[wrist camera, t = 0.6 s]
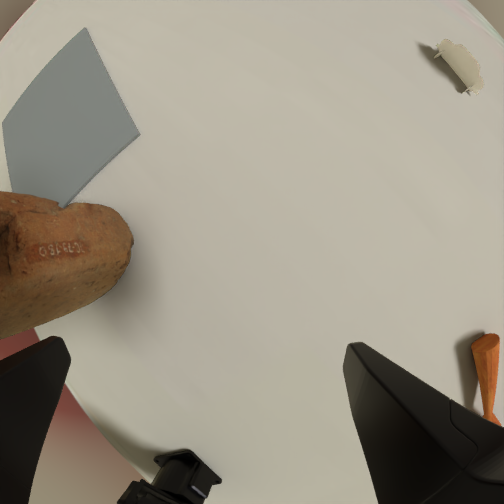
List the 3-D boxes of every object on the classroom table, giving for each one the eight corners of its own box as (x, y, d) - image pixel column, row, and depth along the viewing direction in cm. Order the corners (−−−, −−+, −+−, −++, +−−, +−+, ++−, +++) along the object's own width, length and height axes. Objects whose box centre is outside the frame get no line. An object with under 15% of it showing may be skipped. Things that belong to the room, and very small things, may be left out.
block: (84, 310, 25) (-73, 375, 5) (57, 249, 25) (-100, 271, 5) (154, 262, 23) (-74, 324, 3) (120, 191, 23) (-86, 161, 3)
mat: (31, 249, 26) (29, 249, 25) (3, 123, 26) (2, 122, 25) (140, 134, 22) (138, 133, 22) (86, 28, 23) (84, 27, 22)
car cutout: (485, 90, 17) (505, 75, 13) (458, 109, 18) (481, 93, 14) (397, -2, 18) (406, -25, 13) (361, 8, 19) (368, -18, 14)
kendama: (520, 330, 15) (510, 452, 14) (483, 323, 21) (487, 437, 20) (486, 367, 15) (478, 482, 14) (449, 352, 21) (457, 463, 20)
